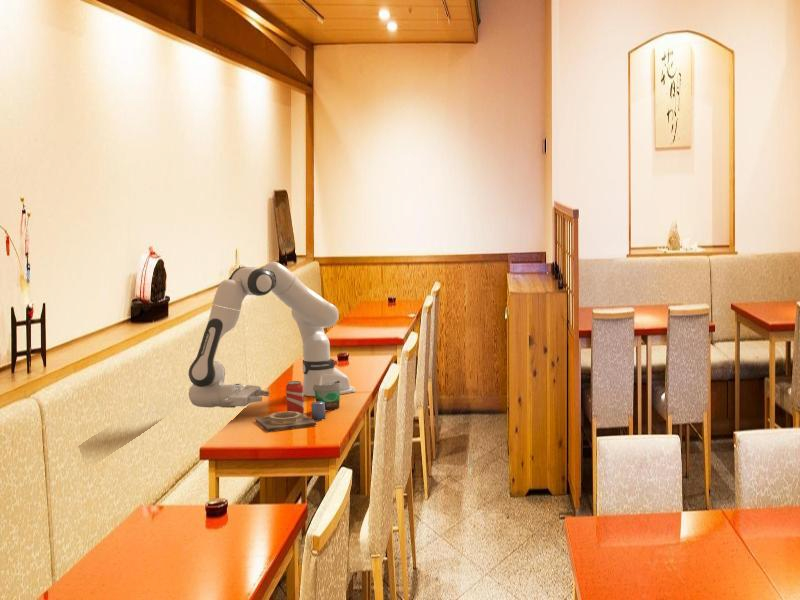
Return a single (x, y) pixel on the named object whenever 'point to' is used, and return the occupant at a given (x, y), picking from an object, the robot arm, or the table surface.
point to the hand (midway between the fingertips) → (265, 396)
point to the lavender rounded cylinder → (318, 410)
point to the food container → (328, 395)
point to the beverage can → (295, 396)
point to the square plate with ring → (285, 421)
